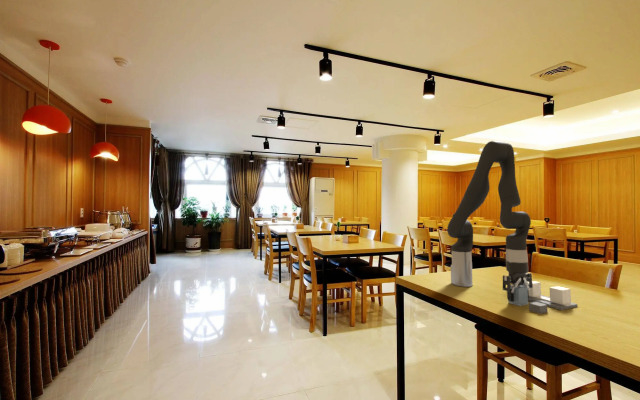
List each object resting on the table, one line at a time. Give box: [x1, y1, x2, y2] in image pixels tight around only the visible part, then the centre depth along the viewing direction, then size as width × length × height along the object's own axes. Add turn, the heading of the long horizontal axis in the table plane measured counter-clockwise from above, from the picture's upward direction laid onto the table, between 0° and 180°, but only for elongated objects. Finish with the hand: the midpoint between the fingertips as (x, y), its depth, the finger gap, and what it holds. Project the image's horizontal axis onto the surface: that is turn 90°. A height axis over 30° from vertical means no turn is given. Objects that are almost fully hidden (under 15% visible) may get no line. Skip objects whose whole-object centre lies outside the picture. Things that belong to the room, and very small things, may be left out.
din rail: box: [527, 280, 579, 311], centre depth 119 cm, size 17×10×7 cm, turn 20°
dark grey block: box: [528, 301, 548, 315], centre depth 109 cm, size 4×4×3 cm
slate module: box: [508, 285, 529, 307], centre depth 118 cm, size 4×5×7 cm
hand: (518, 299), depth 118 cm, fingers open, 8 cm apart
